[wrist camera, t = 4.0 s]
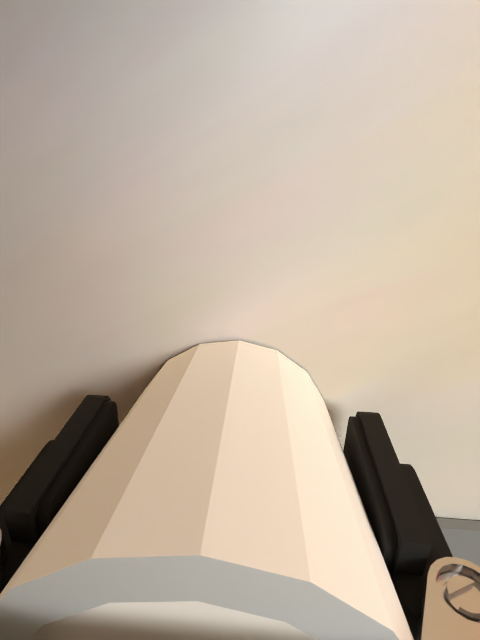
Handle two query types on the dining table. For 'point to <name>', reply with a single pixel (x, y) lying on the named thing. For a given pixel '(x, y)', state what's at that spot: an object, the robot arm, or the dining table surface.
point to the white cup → (212, 520)
